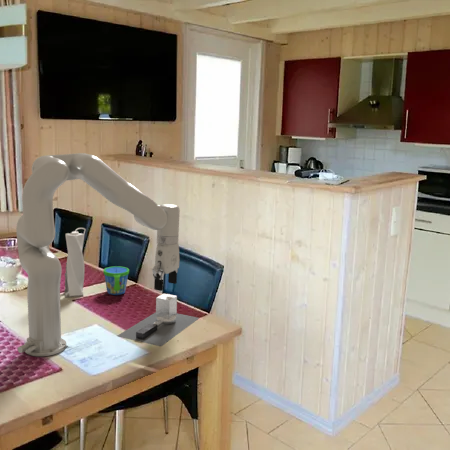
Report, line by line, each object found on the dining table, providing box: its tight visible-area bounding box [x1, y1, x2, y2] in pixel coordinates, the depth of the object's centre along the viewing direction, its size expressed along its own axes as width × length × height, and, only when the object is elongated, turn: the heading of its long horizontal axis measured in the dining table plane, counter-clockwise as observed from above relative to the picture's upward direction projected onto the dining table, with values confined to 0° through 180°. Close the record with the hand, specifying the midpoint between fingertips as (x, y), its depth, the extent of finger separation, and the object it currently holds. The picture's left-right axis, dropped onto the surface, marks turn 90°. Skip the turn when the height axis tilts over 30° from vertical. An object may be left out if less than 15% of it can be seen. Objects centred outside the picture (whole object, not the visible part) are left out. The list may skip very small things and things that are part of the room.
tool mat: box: [117, 311, 200, 347], centre depth 181 cm, size 28×17×1 cm, turn 157°
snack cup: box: [103, 265, 130, 296], centre depth 216 cm, size 16×10×10 cm
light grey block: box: [155, 293, 178, 319], centre depth 185 cm, size 5×5×7 cm
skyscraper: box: [64, 227, 87, 298], centre depth 210 cm, size 8×8×28 cm
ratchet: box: [136, 315, 176, 340], centre depth 179 cm, size 21×7×7 cm, turn 157°
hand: (165, 286), depth 183 cm, fingers open, 9 cm apart
